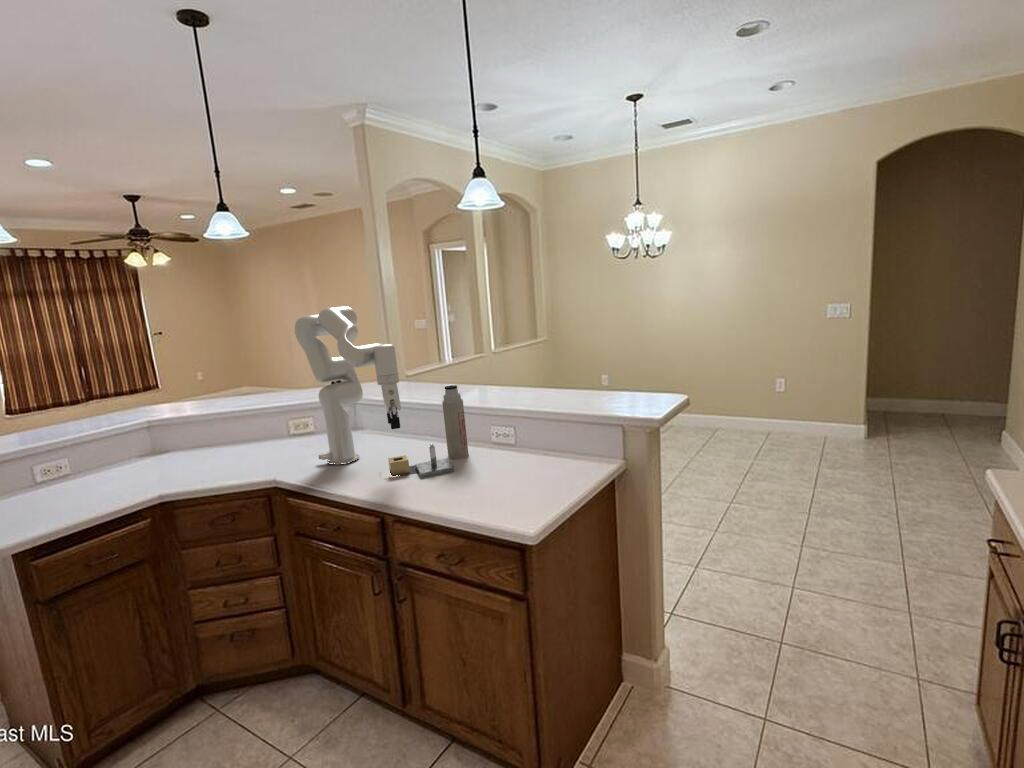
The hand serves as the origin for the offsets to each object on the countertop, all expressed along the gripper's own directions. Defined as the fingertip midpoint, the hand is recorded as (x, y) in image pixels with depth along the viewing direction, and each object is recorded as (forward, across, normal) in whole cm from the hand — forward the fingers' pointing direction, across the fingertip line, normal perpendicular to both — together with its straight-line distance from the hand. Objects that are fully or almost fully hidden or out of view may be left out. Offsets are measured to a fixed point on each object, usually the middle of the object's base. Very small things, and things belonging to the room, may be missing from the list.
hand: (394, 425), depth 191 cm
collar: (+18, 0, 0) cm, 18 cm away
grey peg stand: (+18, -5, -12) cm, 22 cm away
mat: (+18, 0, 0) cm, 18 cm away
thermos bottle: (+18, +8, -24) cm, 31 cm away
